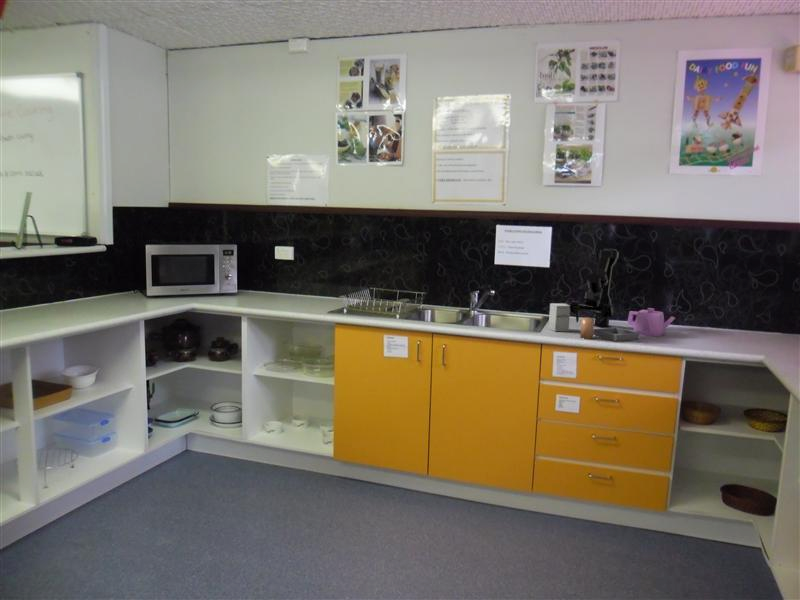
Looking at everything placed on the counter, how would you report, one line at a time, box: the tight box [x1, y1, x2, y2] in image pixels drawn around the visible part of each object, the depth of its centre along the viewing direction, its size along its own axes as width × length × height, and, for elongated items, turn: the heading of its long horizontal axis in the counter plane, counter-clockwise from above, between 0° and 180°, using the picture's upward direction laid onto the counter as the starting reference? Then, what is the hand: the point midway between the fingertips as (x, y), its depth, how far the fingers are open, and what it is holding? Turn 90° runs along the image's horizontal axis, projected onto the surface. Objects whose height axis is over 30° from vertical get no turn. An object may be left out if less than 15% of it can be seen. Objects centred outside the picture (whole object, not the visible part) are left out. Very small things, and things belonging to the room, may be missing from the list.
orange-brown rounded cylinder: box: [580, 317, 595, 340], centre depth 284 cm, size 6×6×9 cm
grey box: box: [548, 302, 571, 332], centre depth 301 cm, size 7×7×13 cm
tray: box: [593, 327, 640, 343], centre depth 288 cm, size 14×14×3 cm
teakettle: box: [627, 307, 676, 338], centre depth 299 cm, size 17×17×12 cm
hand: (587, 323), depth 283 cm, fingers open, 9 cm apart
